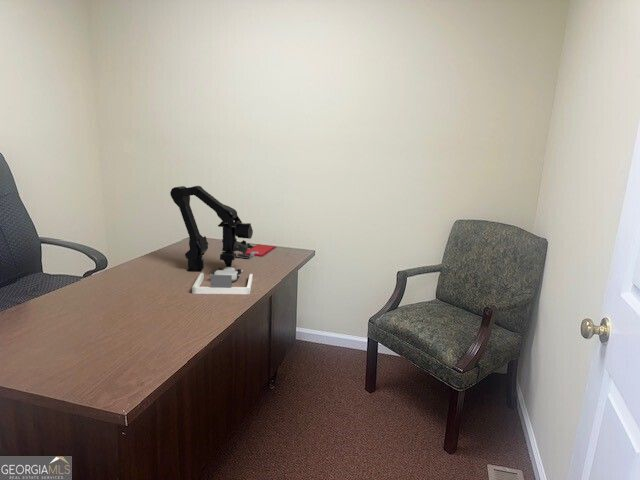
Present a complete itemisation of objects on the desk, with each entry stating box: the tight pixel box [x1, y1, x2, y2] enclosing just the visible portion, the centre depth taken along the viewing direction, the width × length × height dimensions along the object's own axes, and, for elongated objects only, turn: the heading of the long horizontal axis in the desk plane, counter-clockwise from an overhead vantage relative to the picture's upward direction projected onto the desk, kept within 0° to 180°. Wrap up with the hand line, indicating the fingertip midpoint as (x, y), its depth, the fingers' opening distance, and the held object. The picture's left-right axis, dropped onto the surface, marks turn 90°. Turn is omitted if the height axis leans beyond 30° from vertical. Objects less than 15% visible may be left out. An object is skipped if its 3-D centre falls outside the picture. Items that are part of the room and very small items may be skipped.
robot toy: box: [209, 266, 244, 283], centre depth 185 cm, size 12×4×15 cm
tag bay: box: [191, 272, 254, 295], centre depth 175 cm, size 22×19×8 cm
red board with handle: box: [235, 242, 277, 259], centre depth 233 cm, size 30×3×15 cm
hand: (229, 269), depth 193 cm, fingers closed
